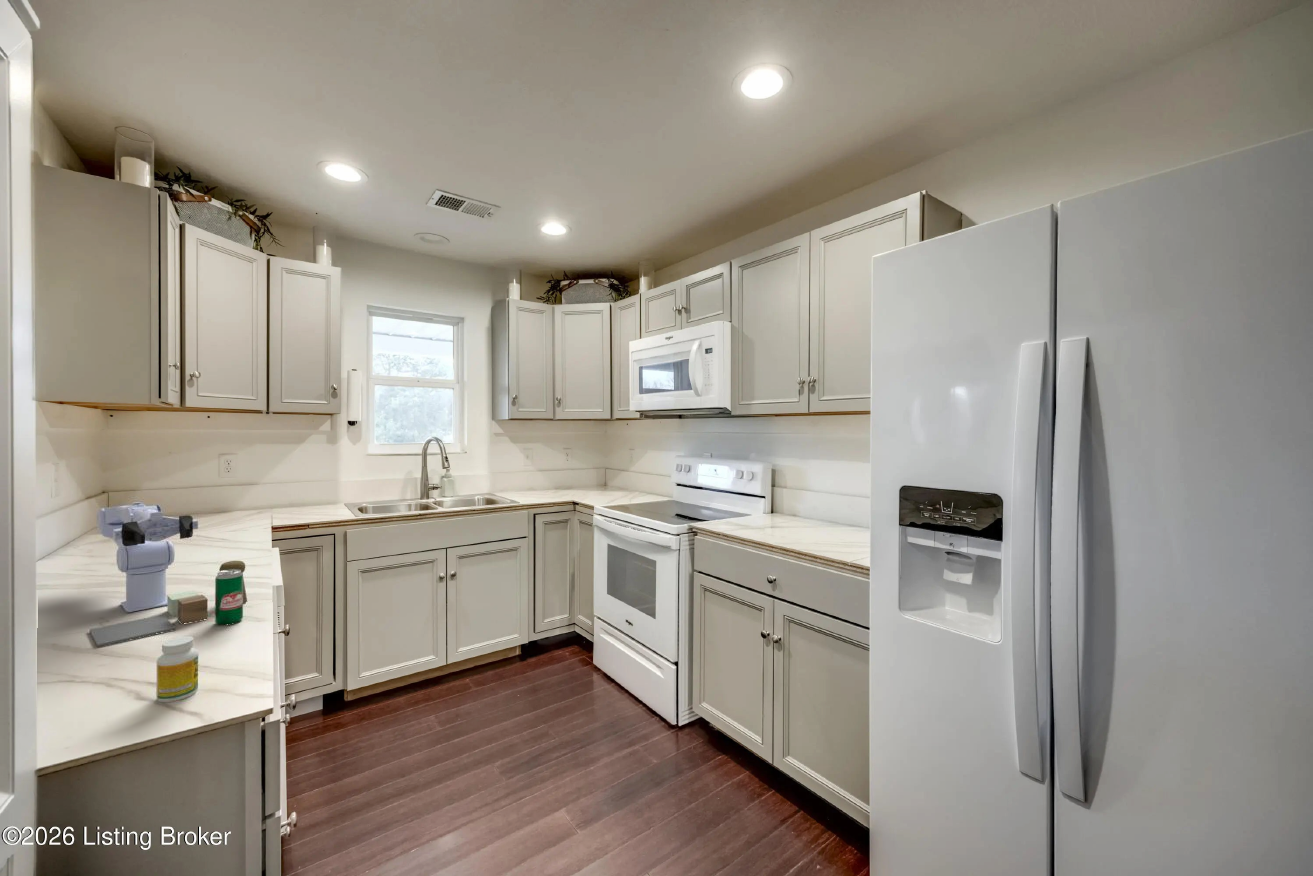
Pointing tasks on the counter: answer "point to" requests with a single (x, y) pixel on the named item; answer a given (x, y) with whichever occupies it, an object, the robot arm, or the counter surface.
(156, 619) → the mat
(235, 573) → the soda can
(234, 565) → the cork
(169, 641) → the supplement bottle
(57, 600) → the counter surface
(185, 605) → the walnut block
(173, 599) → the sage block
